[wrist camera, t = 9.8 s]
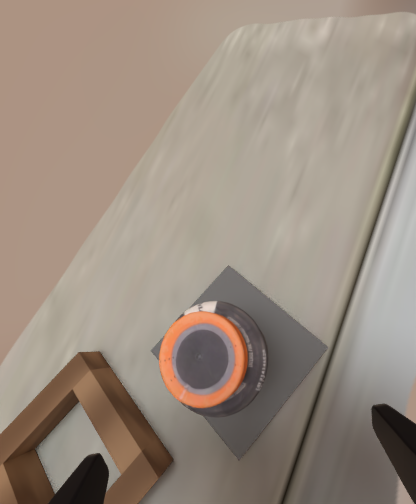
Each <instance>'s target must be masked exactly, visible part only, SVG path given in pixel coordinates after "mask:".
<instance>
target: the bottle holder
mask: <svg viewBox="0 0 416 504" xmlns="http://www.w3.org/2000/svg"><path fill="white" fill-rule="evenodd" d="M79 401H80V403H81V405H82V406H83V408H84V410H85V412H86V413H87V415H88V417H89V419H90V420H91V422H92V424H93V426H94V427H95V429H96V431H97V433H98V434H99V436H100V438H101V440H102V441H103V443H104V445H105V447H106V448H107V450H108V452H109V454H110V455H111V457H112V459H113V461H114V462H115V464H116V466H117V468H118V469H119V471H120V473H121V476H120V477H119V478H118V479H117V481H116V482H115V483H114V484H113V485H112V486H111V488H110V489H109V490H108V491H107V492H106V494H105V499H104V504H138V503H139V502H140V500H141V499H142V498H143V497H144V495H145V494H146V493H147V492H148V491H149V489H150V488H151V487H152V486H153V485H154V483H155V482H156V481H157V480H158V479H159V477H160V476H161V475H162V474H163V472H164V471H165V470H166V469H167V467H168V466H169V465H170V464H171V462H172V461H173V458H172V457H171V456H170V454H169V453H168V451H167V450H166V448H165V447H164V445H163V444H162V442H161V441H160V439H159V438H158V437H157V435H156V434H155V432H154V431H153V429H152V428H151V426H150V425H149V423H148V422H147V420H146V419H145V418H144V416H143V415H142V413H141V412H140V410H139V409H138V407H137V406H136V404H135V403H134V401H133V400H132V398H131V397H130V396H129V394H128V393H127V391H126V390H125V388H124V387H123V385H122V384H121V382H120V381H119V379H118V378H117V377H116V375H115V374H114V372H113V371H112V369H111V368H110V366H109V365H108V363H107V362H106V360H105V359H104V358H103V356H102V355H101V353H100V352H78V354H77V355H76V356H75V357H74V358H73V359H72V360H71V361H70V362H69V363H68V364H67V365H66V366H65V367H64V368H63V369H62V370H61V371H60V372H59V373H58V374H57V376H56V377H55V378H54V379H53V380H52V381H51V382H50V383H49V384H48V385H47V386H46V387H45V388H44V389H43V390H42V391H41V392H40V393H39V394H38V395H37V396H36V398H35V399H34V400H33V401H32V402H31V403H30V404H29V405H28V406H27V407H26V408H25V409H24V410H23V411H22V412H21V413H20V414H19V415H18V416H17V417H16V418H15V420H14V421H13V422H12V423H11V424H10V425H9V426H8V427H7V428H6V429H5V430H4V431H3V432H2V433H1V434H0V504H48V502H49V501H50V500H51V499H52V498H53V496H54V495H55V494H54V492H53V490H52V487H51V485H50V483H49V480H48V478H47V476H46V474H45V471H44V469H43V467H42V465H41V462H40V460H39V458H38V455H37V453H36V451H35V448H36V447H37V446H38V445H39V444H40V443H41V442H42V441H43V439H44V438H45V437H46V436H47V435H48V434H49V433H50V432H51V431H52V430H53V429H54V428H55V426H56V425H57V424H58V423H59V422H60V421H61V420H62V419H63V418H64V417H65V416H66V415H67V413H68V412H69V411H70V410H71V409H72V408H73V407H74V406H75V405H76V404H77V403H78V402H79Z"/></svg>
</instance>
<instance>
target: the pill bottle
mask: <svg viewBox="0 0 416 504" xmlns="http://www.w3.org/2000/svg"><path fill="white" fill-rule="evenodd" d="M159 365H160V372H161V375H162V378H163V381H164V383H165V385H166V387H167V388H168V390H169V391H170V392H171V393H172V395H173V396H174V397H175V398H176V399H177V400H179V401H180V402H181V403H182V404H183V405H184V406H186V407H187V408H188V409H190V410H191V411H193V412H195V413H197V414H200V415H203V416H207V417H226V416H230V415H233V414H235V413H237V412H239V411H241V410H242V409H244V408H245V407H247V406H248V405H249V404H250V403H251V402H252V401H253V400H254V399H255V397H256V396H257V394H258V393H259V391H260V389H261V388H262V385H263V383H264V380H265V377H266V373H267V367H268V347H267V342H266V339H265V337H264V335H263V333H262V332H261V330H260V328H259V327H258V325H257V324H256V322H255V321H254V320H253V319H252V317H250V316H249V314H247V313H246V312H245V311H243V310H242V309H241V308H239V307H237V306H235V305H233V304H230V303H227V302H222V301H209V302H204V303H200V304H197V305H195V306H193V307H191V308H189V309H188V310H187V311H185V312H184V313H183V314H182V315H181V316H180V317H179V318H178V319H177V320H176V321H175V323H174V324H173V325H172V326H171V327H170V328H169V330H168V331H167V333H166V334H165V336H164V339H163V341H162V344H161V348H160V353H159Z"/></svg>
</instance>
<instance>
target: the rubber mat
mask: <svg viewBox="0 0 416 504" xmlns="http://www.w3.org/2000/svg"><path fill="white" fill-rule="evenodd" d="M209 301H222V302H227V303H230V304H233V305H235V306H237V307H239V308H241V309H242V310H243V311H245V312H246V313H247V314H249V316H250V317H252V319H253V320H254V321H255V322H256V324H257V325H258V327H259V328H260V330H261V332H262V333H263V335H264V337H265V339H266V342H267V347H268V367H267V373H266V377H265V380H264V383H263V385H262V388H261V389H260V391H259V393H258V394H257V396H256V397H255V399H254V400H253V401H252V402H251V403H250V404H249V405H248V406H247V407H245V408H244V409H242V410H241V411H239V412H237V413H235V414H233V415H230V416H226V417H207V416H204V418H205V419H206V420H207V421H208V423H209V424H210V425H211V426H212V428H213V429H214V430H215V431H216V432H217V434H218V435H219V436H220V437H221V439H222V440H223V441H224V442H225V444H226V445H227V446H228V447H229V449H230V450H231V451H232V452H233V454H234V455H235V456H236V457H237V459H238V460H240V459H241V458H242V456H243V455H244V454H245V453H246V451H247V450H248V449H249V448H250V446H251V445H252V444H253V442H254V441H255V440H256V439H257V437H258V436H259V435H260V434H261V432H262V431H263V430H264V428H265V427H266V426H267V425H268V423H269V422H270V421H271V420H272V418H273V417H274V416H275V414H276V413H277V412H278V411H279V409H280V408H281V407H282V406H283V404H284V403H285V402H286V401H287V399H288V398H289V397H290V395H291V394H292V393H293V392H294V390H295V389H296V388H297V387H298V385H299V384H300V383H301V381H302V380H303V379H304V378H305V376H306V375H307V374H308V373H309V371H310V370H311V369H312V367H313V366H314V365H315V364H316V362H317V361H318V360H319V359H320V357H321V356H322V355H323V353H324V352H325V351H326V350H327V348H328V347H327V346H326V345H325V344H324V343H322V342H321V341H320V340H319V339H318V338H316V337H315V336H314V335H313V334H311V333H310V332H309V331H308V330H307V329H305V328H304V327H303V326H302V325H300V324H299V323H298V322H297V321H296V320H294V319H293V318H292V317H291V316H290V315H288V314H287V313H286V312H285V311H283V310H282V309H281V308H280V307H279V306H277V305H276V304H275V303H274V302H273V301H271V300H270V299H269V298H268V297H266V296H265V295H264V294H263V293H262V292H260V291H259V290H258V289H257V288H256V287H254V286H253V285H252V284H251V283H249V282H248V281H247V280H246V279H245V278H243V277H242V276H241V275H240V274H238V273H237V272H236V271H235V270H234V269H232V268H231V267H230V266H229V265H228V266H227V267H226V268H225V269H224V271H223V272H222V273H221V274H220V275H219V276H218V277H217V278H216V279H215V281H214V282H213V283H212V284H211V285H210V286H209V287H208V288H207V289H206V290H205V292H204V293H203V294H202V295H201V296H200V297H199V298H198V299H197V300H196V301H195V303H194V304H193V305H192V306H191V307H193V306H195V305H197V304H200V303H204V302H209ZM191 307H190V308H191ZM163 339H164V337H163V338H162V339H161V340H160V341H159V342H158V343H157V344H156V346H155V347H154V348H153V349H152V350H151V351H152V353H153V354H154V355H155V356H156V358H157V359H158V360H159V353H160V348H161V344H162V341H163Z"/></svg>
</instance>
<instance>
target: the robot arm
mask: <svg viewBox="0 0 416 504" xmlns="http://www.w3.org/2000/svg"><path fill="white" fill-rule="evenodd" d="M372 425H373V429H374V431H375V433H376V435H377V437H378V439H379V441H380V443H381V444H382V446H383V448H384V450H385V452H386V454H387V455H388V457H389V459H390V461H391V463H392V465H393V466H394V468H395V470H396V472H397V474H398V476H399V477H400V479H401V481H402V483H403V485H404V486H405V488H406V490H407V492H408V493H409V495H410V497H411V499H412V500H413V502H414V503H415V504H416V424H415V423H414V422H412V421H411V420H409V419H408V418H406V417H405V416H404V415H402V414H401V413H399V412H398V411H396V410H395V409H393V408H392V407H390V406H389V405H387V404H378V405H373V406H372ZM108 478H109V470H108V467H107V465H106V463H105V461H104V459H103V457H102V455H101V454H100V453H96V454H90V455H88V456H87V457H86V458H85V459H84V460H83V461H82V462H81V463H80V465H79V466H78V467H77V468H76V470H75V471H74V472H73V473H72V474H71V476H70V477H69V478H68V479H67V481H66V482H65V483H64V484H63V485H62V487H61V488H60V489H59V490H58V491H57V493H56V494H55V495H54V496H53V498H52V499H51V500H50V501H49V502H48V504H104V499H105V494H106V489H107V484H108Z"/></svg>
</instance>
